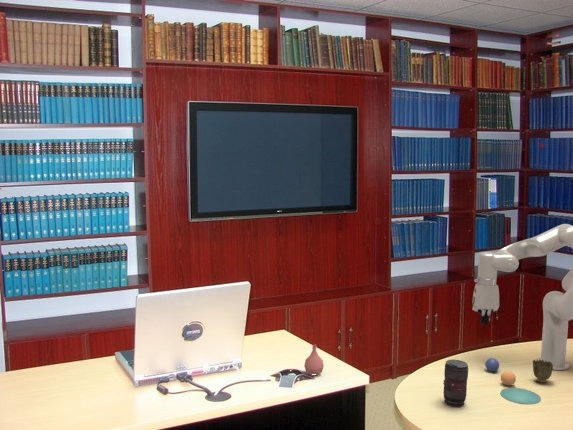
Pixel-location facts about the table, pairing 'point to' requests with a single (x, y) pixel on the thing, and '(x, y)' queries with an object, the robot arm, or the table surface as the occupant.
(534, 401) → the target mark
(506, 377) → the object ball
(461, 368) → the camera lens
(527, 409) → the table surface
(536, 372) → the cup
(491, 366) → the blue ball
